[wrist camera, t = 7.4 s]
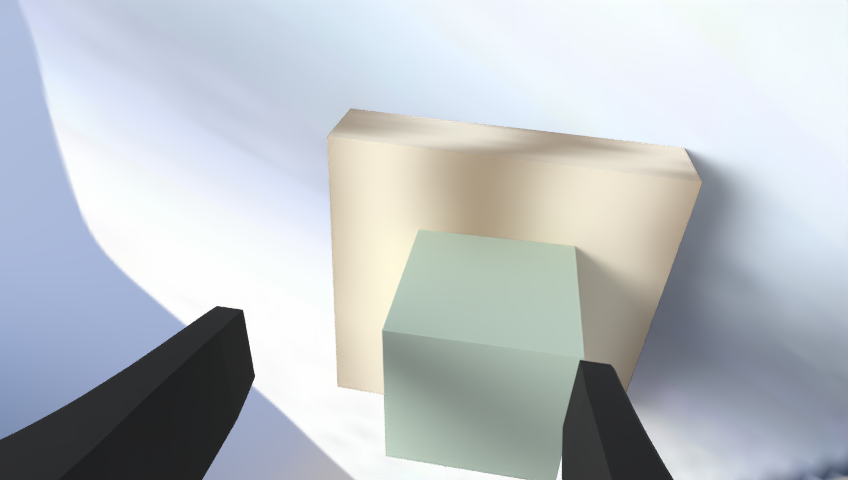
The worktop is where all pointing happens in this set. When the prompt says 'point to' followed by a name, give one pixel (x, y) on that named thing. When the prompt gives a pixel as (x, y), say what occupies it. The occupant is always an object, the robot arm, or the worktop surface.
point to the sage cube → (482, 354)
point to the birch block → (502, 220)
